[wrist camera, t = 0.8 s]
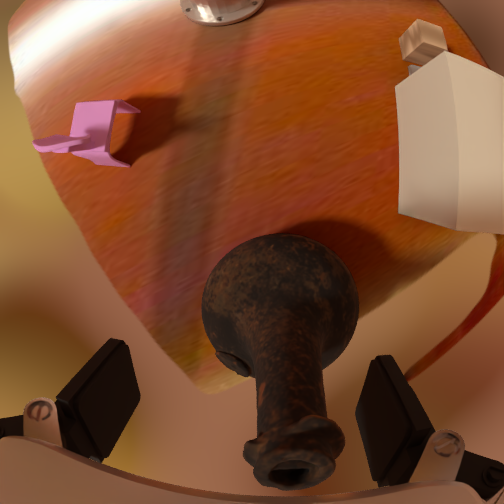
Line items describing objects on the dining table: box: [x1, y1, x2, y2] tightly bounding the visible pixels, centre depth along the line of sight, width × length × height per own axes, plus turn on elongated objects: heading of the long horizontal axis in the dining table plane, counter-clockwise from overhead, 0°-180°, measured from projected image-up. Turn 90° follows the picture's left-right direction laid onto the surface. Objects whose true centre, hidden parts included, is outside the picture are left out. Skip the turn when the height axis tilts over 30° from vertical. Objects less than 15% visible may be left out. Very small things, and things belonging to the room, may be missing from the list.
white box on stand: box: [395, 51, 504, 234], centre depth 25 cm, size 18×14×14 cm
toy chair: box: [32, 100, 141, 167], centre depth 27 cm, size 8×9×15 cm
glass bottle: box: [202, 233, 359, 491], centre depth 25 cm, size 18×18×28 cm
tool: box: [399, 19, 448, 75], centre depth 27 cm, size 20×4×7 cm, turn 0°
